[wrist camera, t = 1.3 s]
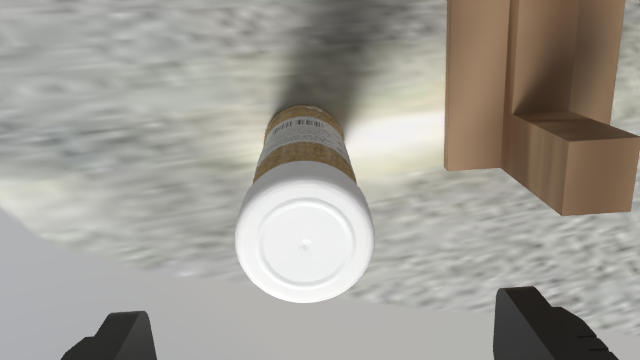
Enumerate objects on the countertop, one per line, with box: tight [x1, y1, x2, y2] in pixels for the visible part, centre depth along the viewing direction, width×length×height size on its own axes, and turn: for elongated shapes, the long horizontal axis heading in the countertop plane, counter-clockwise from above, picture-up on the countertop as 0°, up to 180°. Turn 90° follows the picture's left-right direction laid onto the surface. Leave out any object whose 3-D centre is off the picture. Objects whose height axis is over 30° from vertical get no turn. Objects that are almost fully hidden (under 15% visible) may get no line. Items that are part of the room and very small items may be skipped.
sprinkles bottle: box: [235, 105, 375, 303], centre depth 22 cm, size 5×5×14 cm
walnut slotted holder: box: [444, 0, 640, 216], centre depth 24 cm, size 9×13×8 cm
